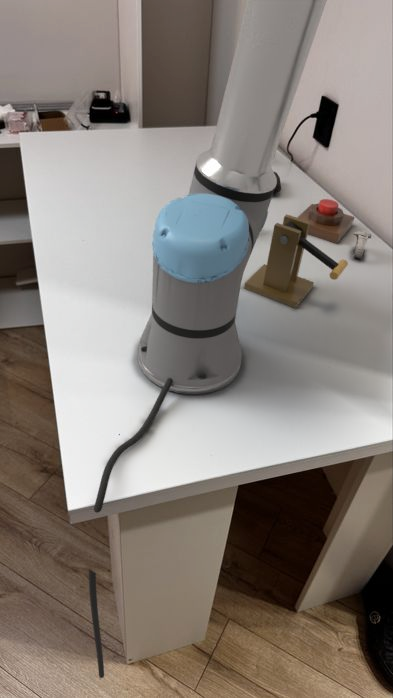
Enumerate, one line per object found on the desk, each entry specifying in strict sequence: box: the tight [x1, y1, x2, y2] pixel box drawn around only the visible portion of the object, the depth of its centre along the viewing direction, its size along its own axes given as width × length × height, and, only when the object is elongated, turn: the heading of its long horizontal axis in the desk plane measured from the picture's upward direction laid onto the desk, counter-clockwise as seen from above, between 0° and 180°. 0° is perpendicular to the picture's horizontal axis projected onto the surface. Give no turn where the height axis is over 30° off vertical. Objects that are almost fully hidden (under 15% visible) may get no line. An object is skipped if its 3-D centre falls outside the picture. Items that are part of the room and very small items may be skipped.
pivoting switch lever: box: [285, 221, 349, 281], centre depth 88 cm, size 12×5×2 cm, turn 59°
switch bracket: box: [244, 214, 315, 309], centre depth 91 cm, size 10×8×13 cm
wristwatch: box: [352, 230, 373, 260], centre depth 106 cm, size 4×6×5 cm, turn 162°
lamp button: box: [318, 198, 339, 216], centre depth 112 cm, size 4×4×2 cm
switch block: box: [297, 203, 355, 244], centre depth 114 cm, size 10×10×4 cm
